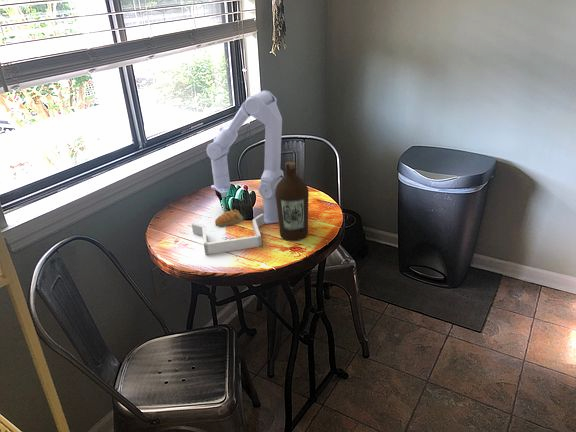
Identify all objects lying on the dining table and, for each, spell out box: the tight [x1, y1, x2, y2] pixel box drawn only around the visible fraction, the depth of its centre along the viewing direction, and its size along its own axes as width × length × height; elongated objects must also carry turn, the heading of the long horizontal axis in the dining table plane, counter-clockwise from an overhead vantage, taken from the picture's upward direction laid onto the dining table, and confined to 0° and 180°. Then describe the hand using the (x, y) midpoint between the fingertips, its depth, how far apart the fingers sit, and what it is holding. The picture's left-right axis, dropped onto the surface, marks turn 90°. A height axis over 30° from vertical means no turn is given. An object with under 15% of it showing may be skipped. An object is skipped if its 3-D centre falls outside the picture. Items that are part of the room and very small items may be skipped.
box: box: [191, 213, 265, 256], centre depth 155 cm, size 25×16×4 cm, turn 102°
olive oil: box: [275, 161, 310, 242], centre depth 150 cm, size 11×11×25 cm
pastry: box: [214, 208, 243, 228], centre depth 166 cm, size 9×7×4 cm
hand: (225, 207), depth 175 cm, fingers closed
